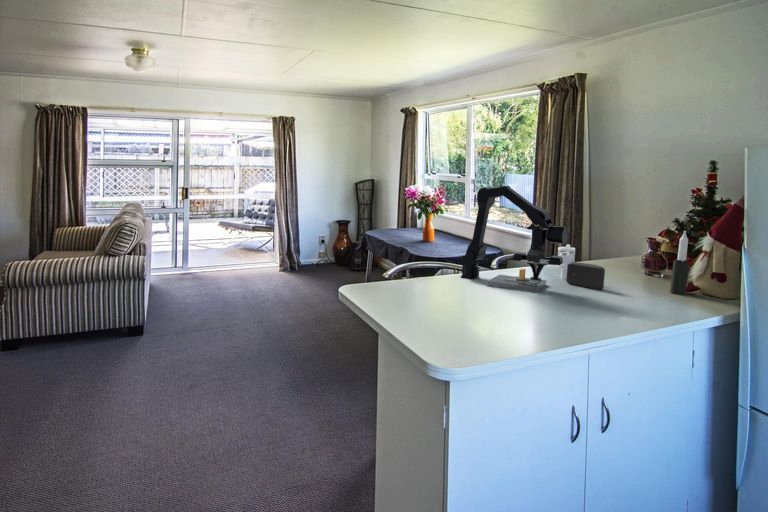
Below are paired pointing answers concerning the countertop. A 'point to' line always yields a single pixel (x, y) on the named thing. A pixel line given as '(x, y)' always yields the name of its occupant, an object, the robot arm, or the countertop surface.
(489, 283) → the breaker panel
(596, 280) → the dark rounded block
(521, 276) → the block
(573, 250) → the white stepped cylinder
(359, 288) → the countertop surface
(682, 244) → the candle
